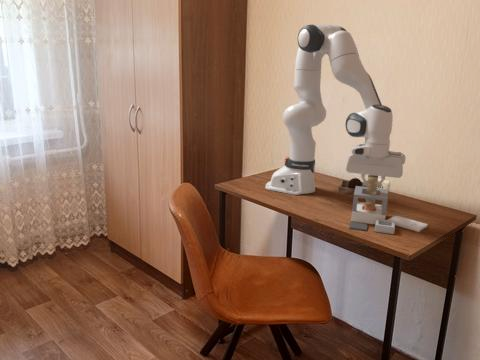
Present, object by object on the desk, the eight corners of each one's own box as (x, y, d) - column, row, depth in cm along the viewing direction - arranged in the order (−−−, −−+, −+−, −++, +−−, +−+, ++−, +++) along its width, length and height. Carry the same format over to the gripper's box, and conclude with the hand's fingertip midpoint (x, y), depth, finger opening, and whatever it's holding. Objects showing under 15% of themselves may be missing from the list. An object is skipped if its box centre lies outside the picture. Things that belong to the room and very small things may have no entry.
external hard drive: (395, 218, 180) (427, 227, 172) (386, 224, 174) (418, 233, 166) (396, 215, 180) (428, 223, 172) (386, 219, 174) (419, 229, 166)
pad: (349, 228, 167) (349, 227, 166) (350, 223, 172) (350, 221, 172) (366, 231, 165) (366, 229, 165) (367, 225, 171) (367, 224, 170)
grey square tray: (374, 231, 165) (375, 224, 164) (375, 225, 171) (375, 218, 170) (393, 234, 163) (394, 227, 163) (393, 227, 169) (394, 221, 169)
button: (363, 215, 176) (364, 205, 175) (363, 212, 180) (364, 202, 179) (373, 216, 175) (374, 206, 174) (373, 213, 179) (374, 203, 178)
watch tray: (337, 192, 208) (338, 187, 208) (340, 184, 221) (341, 179, 221) (370, 196, 205) (370, 191, 204) (371, 188, 218) (371, 182, 217)
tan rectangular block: (365, 205, 175) (368, 177, 172) (365, 202, 178) (368, 174, 175) (374, 206, 174) (378, 177, 171) (375, 203, 177) (378, 175, 174)
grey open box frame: (350, 221, 174) (353, 194, 171) (352, 211, 185) (355, 185, 182) (384, 225, 171) (387, 198, 168) (384, 215, 182) (387, 189, 179)
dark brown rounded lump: (356, 189, 215) (358, 174, 213) (361, 194, 208) (362, 178, 206) (339, 188, 215) (341, 173, 213) (343, 193, 208) (344, 177, 206)
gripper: (405, 151, 171) (400, 187, 175) (348, 145, 176) (345, 181, 180) (406, 154, 165) (401, 191, 169) (347, 149, 170) (344, 185, 174)
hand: (372, 186), depth 174 cm, fingers closed on tan rectangular block, 3 cm apart
